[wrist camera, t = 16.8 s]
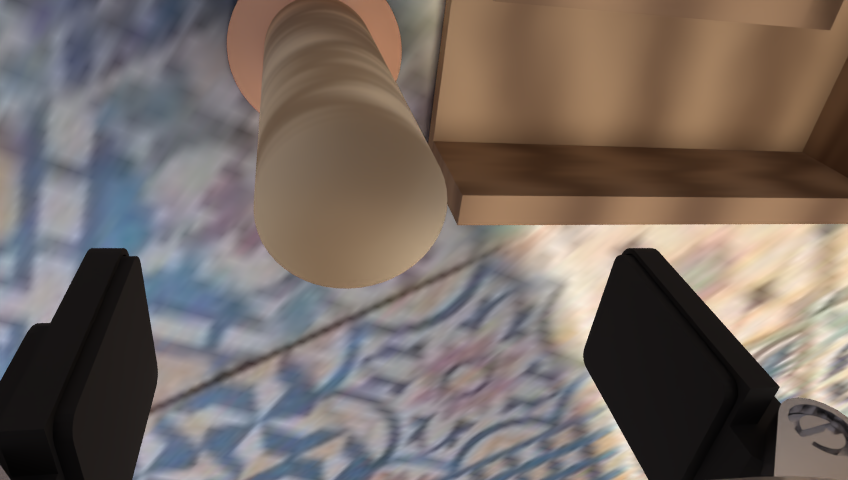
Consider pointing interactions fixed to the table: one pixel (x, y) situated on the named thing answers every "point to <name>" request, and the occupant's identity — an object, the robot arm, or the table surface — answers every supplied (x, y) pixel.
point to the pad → (251, 25)
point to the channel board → (643, 111)
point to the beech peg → (340, 154)
